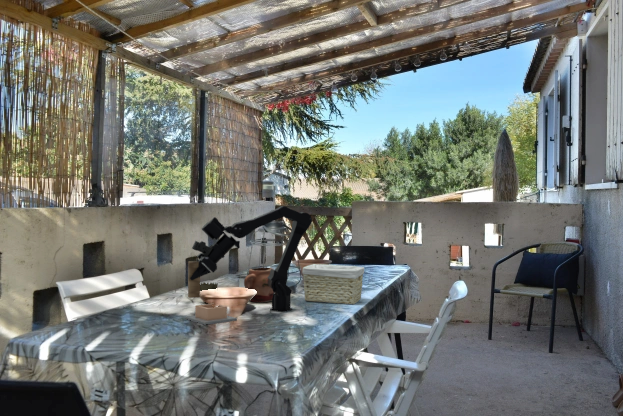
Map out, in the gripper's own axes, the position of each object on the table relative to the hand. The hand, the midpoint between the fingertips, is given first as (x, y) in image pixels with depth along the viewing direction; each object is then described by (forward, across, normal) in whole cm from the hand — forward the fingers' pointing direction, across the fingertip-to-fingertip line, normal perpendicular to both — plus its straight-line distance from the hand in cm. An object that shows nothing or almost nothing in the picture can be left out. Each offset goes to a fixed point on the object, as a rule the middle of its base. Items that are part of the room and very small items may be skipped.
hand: (190, 278), depth 223 cm
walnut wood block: (+4, 0, +6) cm, 7 cm away
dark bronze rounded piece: (+3, -23, +16) cm, 28 cm away
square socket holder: (+5, +13, +14) cm, 19 cm away
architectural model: (-13, -56, +32) cm, 66 cm away
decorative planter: (-12, -22, +31) cm, 40 cm away
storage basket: (-34, -18, +53) cm, 65 cm away
